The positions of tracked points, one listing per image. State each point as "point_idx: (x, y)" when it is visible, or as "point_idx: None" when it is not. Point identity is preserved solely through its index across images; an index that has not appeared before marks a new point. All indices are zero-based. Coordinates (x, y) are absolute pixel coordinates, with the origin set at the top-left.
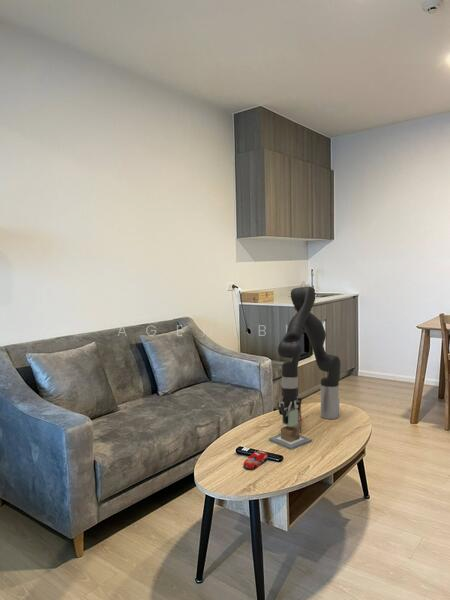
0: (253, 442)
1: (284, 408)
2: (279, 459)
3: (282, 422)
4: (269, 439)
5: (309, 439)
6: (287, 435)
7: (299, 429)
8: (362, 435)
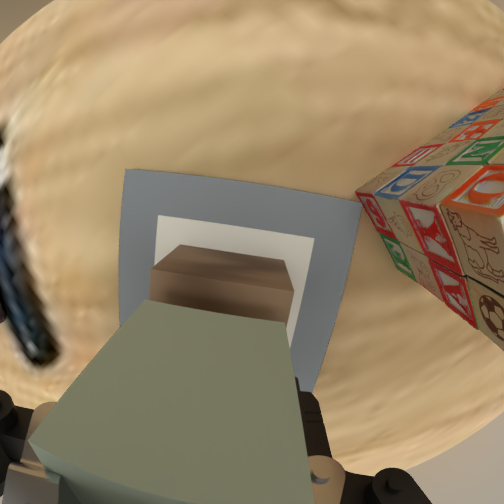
0: (58, 128)
1: (28, 501)
2: (37, 356)
3: (138, 309)
4: (127, 178)
5: (301, 389)
6: None
7: (406, 267)
8: (456, 441)
